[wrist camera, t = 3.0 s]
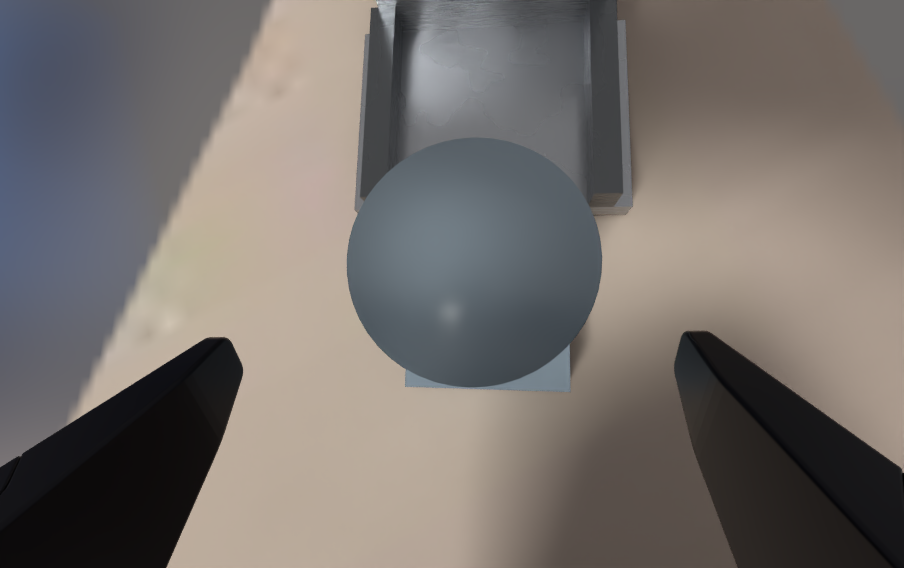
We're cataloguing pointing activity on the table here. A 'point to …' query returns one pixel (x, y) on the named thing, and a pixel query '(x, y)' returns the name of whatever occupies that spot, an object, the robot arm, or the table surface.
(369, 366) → the table surface
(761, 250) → the table surface
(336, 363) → the table surface
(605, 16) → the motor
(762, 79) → the table surface
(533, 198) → the blue-grey knob on base
